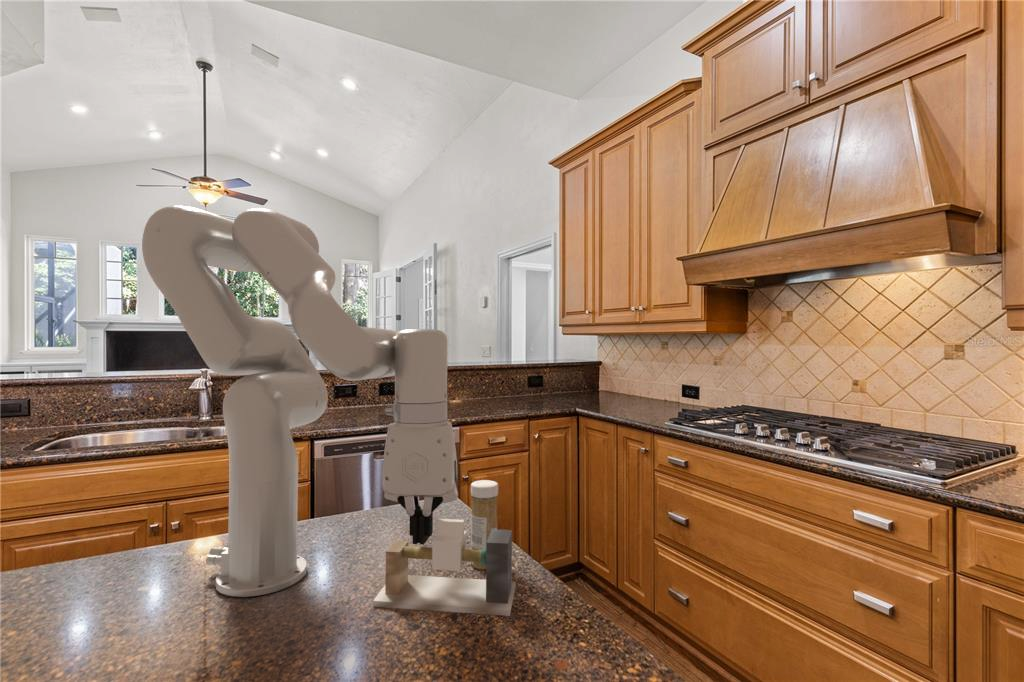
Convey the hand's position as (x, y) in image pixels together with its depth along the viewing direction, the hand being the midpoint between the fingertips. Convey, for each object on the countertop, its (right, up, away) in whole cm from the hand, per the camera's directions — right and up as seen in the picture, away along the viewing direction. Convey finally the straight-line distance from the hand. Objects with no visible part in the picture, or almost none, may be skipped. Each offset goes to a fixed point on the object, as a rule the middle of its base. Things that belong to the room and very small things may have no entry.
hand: (421, 540), depth 71 cm
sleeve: (+4, -3, 0) cm, 5 cm away
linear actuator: (+4, -8, 0) cm, 9 cm away
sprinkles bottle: (+8, -8, +10) cm, 15 cm away
